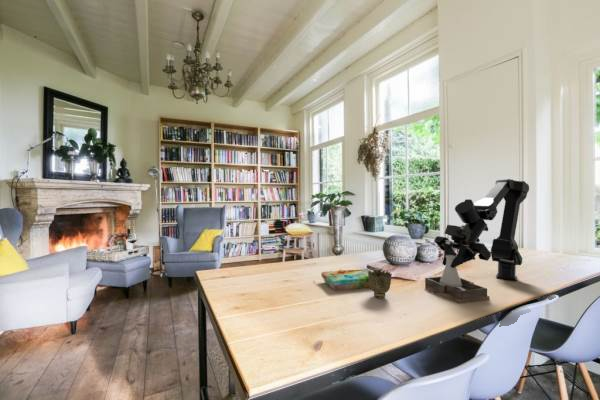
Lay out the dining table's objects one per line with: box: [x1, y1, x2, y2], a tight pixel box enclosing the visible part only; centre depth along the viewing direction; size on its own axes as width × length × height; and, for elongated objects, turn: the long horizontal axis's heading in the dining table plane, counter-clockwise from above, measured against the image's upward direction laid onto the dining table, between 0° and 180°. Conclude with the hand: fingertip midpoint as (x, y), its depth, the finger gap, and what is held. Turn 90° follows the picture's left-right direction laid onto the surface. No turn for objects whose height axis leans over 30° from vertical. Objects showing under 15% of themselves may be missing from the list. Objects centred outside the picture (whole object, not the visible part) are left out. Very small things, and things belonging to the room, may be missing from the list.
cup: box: [368, 269, 393, 299], centre depth 93 cm, size 8×7×8 cm
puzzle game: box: [321, 268, 374, 291], centre depth 106 cm, size 12×5×20 cm
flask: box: [439, 255, 462, 287], centre depth 98 cm, size 7×7×10 cm
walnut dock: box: [424, 275, 491, 304], centre depth 96 cm, size 15×12×4 cm
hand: (447, 265), depth 98 cm, fingers closed on flask, 3 cm apart
